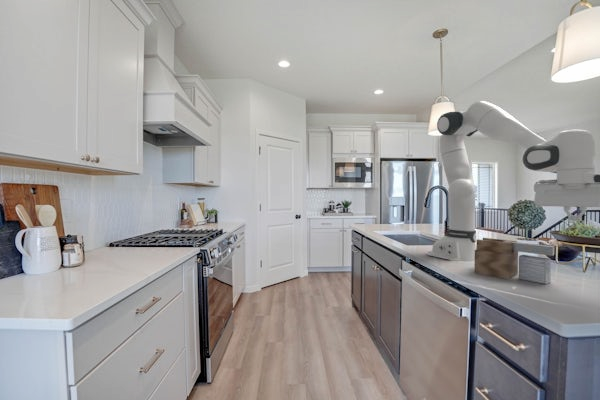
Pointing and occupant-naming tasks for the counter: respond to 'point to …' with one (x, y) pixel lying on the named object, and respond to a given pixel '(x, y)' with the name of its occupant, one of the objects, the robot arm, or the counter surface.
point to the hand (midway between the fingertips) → (574, 220)
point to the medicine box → (535, 268)
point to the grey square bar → (532, 248)
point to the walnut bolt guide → (496, 258)
